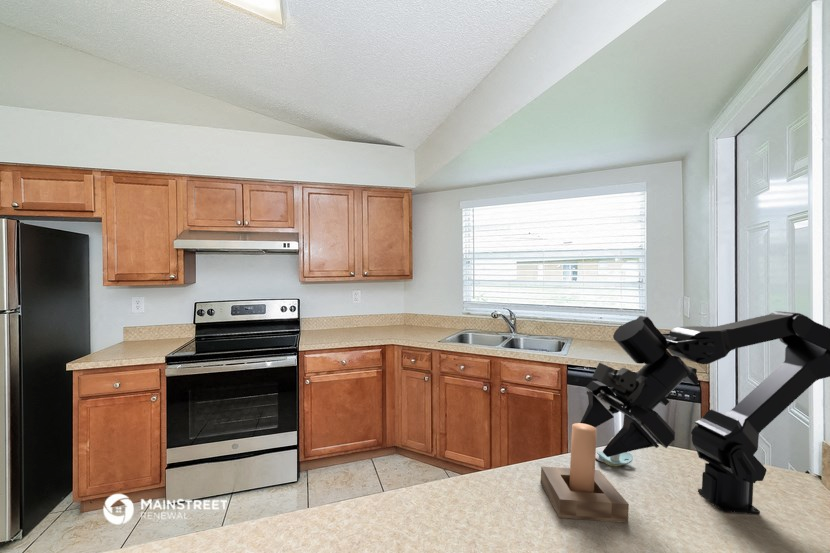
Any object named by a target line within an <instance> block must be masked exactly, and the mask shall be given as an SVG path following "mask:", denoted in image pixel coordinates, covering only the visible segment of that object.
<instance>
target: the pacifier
mask: <svg viewBox="0 0 830 553" xmlns="http://www.w3.org/2000/svg"><path fill="white" fill-rule="evenodd" d="M614 437H615V435H614V436H613V437H611V438H610V439H609V440H608V443H609V442H610V441H611V440H612V439H613V438H614ZM633 458H634V455H633V454H632V453H630V452H625V453H621V454H618V455H614V456H610V457H607V456H606V455H605V454H604V453H603V451H596V456H595V460H597V461H599V462H601V463H604V464H606V465H608V466H611V467H621V466H624V465H628V464H631V463H632V462H633V460H634V459H633Z"/></svg>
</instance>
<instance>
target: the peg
mask: <svg viewBox="0 0 830 553" xmlns="http://www.w3.org/2000/svg"><path fill="white" fill-rule="evenodd" d="M597 432H598V430H597V427H593V426H591V425H588V424H583V423H580V422H577V423H573V424H572V426H571V442H570V463H569V464H570V466H569V468H570V482H569V489H570V491H573V492H587V493H594V478H595V470H596V459H595V456H596V454H597V451H596V450H597Z"/></svg>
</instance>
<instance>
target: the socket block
mask: <svg viewBox="0 0 830 553" xmlns="http://www.w3.org/2000/svg"><path fill="white" fill-rule="evenodd" d="M569 482H570V467H557V466H556V467H553V466H540V484H541V486H542V487H543V490H544V491H545V493H546V495H547V497H548V498H549V501H550V503H551V505H552V507H553V508H554V510H555V512H556V514H557V516H558V518H561V519H574V520H575V519H576V520H586V521H587V520H589V521H603V522H616V523H629V507H630V504H629V502H628V501H627V500H626V499H625V498H624V497H623V496H622V494H620V492H619V491H618V490H617V488H615V486H614V485H613V484H612V483H611V482H610V481H609V479H608V478H607V477H606V475H604V474H603V472H602V471H601V470H600V469H595V478H594V493H587V492H573V491H570V489H569Z"/></svg>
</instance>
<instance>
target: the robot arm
mask: <svg viewBox="0 0 830 553" xmlns="http://www.w3.org/2000/svg"><path fill="white" fill-rule="evenodd" d="M612 336H613V337H612V338H613V339H614V342H616V343H617V344H618V345H619V346H620V347H621V349H622V350H623V351H624V352H625V353H626V354H627V355H628V356H629V358H630V359H631V360H632V361H634V363H636V364H639V365H640V364H641V365H642V364H645V365H643V366H642V367H641V368H640V369H639V370H638V371H637V372H635V371H632V370H631V369H628V368H626V367H621V368H620V369H619V370H617V369H615V368H614V367H612V366H611V367H610V366H609V365H606V364H604V363H602V362H598V364H597V366H596V369H595V370H594V372H593V374H592V376H591V378H592V379H594V380H591V381H590V382H589V383H588V384H587V385H586V386H585V389H586V390H587V391H586V395H587V399H588V405H587V408H586V410H585V412H584V414H583V416H582V418H581V421H580V422H579V423H583V424H588V425H591V426H593V427H595V428H597V427H599V426H600V425H602V424H604V423H606V422H608V421H609V420H612V419H614V418H615V417H614V415H613V414H618V413H619V412H620V413H622V414H623V426H622V427H621V428H620V430H619V431H618V432H617V433H616V434H615V435H614V436H615V437H614V436H613V437H614V438H613V439H612V440H611V441H610V442H609V441H608V443H607V445H606V446H605V447H604V449H603V451H602V452H603V453H604V454H605V455H606V456H607V457H610V456H614V455H618V454H621V453H625V452H628V453H630V452H633V451H637V450H642V449H648V448H656V449H657V448H659V447H660V446H662V447H663V448H665V449H667V448H669V446H671V444H672V443H673V442H674V441H675V437H676V435H675V434H676V432H675V430H673V428H672V427H671V426H670V425H669V424H668V422H666V421H665V420H664V419H663V417H662V416H661V414H659V413H658V412H657V411H655V410H654V409H655V408H656V407H657V406H659V405H661V404H662V405H663V406H665V407H666V406H667V405H668V404H669V403H670V401H669V399H668V398H667V397H668V395H670V393H672V392H673V391H674V390H675V389H676V388H677V387H678V386H679V385H680V384H681V383H682V382H683V381H685V382H687V383H690V384H692V385H698V384H699V377H698V374H697V371H698V370H697V368H695V367H692V366H689V365H687V364H686V362H684V360H686V361H690V362H693V363H697V364H699V365H700V364H701V365H710V364H712V363H714V362H717V361H719V360H721V359H723V358H725V357H727V356H728V354H730V352H731V351H734V350H736V349H739V348H745V347H749V346H754V345H758V344H762V343H765V342H766V343H767V342H770V341H775V340H779V342H781V343H782V344H784V345H786V346H785V351H784V361H783V362H782V363H781V364H780V365H779V366H778V367H776V369H775V370H773V372H771V373H770V374H769V375H768V376H767V377H765V379H763V381H761V382H760V383H759V384H758V385H757V386H756V387H755V388H753V390H752V391H750V392H749V393H748V394H747V395H746V396H745V397H744V398H743V399H742V400H740V402H738V403H737V404H736V405H735V406H734V407H733V408H731V409H730V410H729V411H726V412H723V413H722V412H719V411H718V410H716V409H713V408H711V409H709V410H708V411H706V413H704V415H703V416H702V417H701V418H700V419H699V420H696V421H694V424H695V426H694V427H693V428H692V430H691V432H690V433H691V442H692V445H693V447H694V449H695V450H696V453H697V456H698V458H700V459H702V460H704V461H705V463H704V472H702V475H701V476H702V480H701V488H697V493H698V494H700V495H701V496H702V497H703V498H705V499H706V500H707V501H708V502H709V503H711V504H712V505H713V506H715V507H716V508H717V509H718V510H719V511H721V512H724V513H736V514H737V513H738V514H751V515H752V514H753V515H760V514H761V511H760V509H758V508H757V507H756V506H754V505H753V500H754V484H756V482H762V481H764V479H765V476H766V473H767V471H768V470H767V468H766V467H765V466H764V465H763V464H762V463H761V462H760V460H759V459H757V457H756V456H755V454H756V453H757V451H758V450H759V438H760V437H759V436H760V433H761V432H762V431H763V430H765V428H767V426H769V424H771V423H772V422H773V421H774V420H775V419H776V418H777V417H779V416H780V415H781V414H782V412H784V411H785V410H786V409H787V408H788V407H789V406H790V405H791V404H793V403H794V402H795V401H796V400H797V399H798V398H799V397H800V396H801V395H803V394H804V393H805V391H807V390H808V389H809V388H810V387H811V386H812V385H813V384H814V383H815V382H817V381H819V380H823V379H827V378H830V327H827V326H825V325H822V324H821V323H818V322H816V321H814V320H812V318H810V317H808V316H807V315H804V314H803V313H799V312H790V311H789V312H787V311H778V310H777V311H774V312H771V313H769V314H766V315H761V316H756V317H752V318H748V319H742V320H739V321H735V322H730V323H725V324H721V325H717V326H715V325H714V326H702V325H701V326H696V325H694V326H693V325H690V326H689V325H688V326H677V327H674V328H672V329H670V331H669V332H667V333H666V332H665V333H662V332H661V331H660V330H659V329H658V328H657V327H656V325H655V324H654V322H653V321H652V320H651V319H650V317H649V316H644V315H639V316H638V317H637V318H636V319H633V320H630V321H628V322H625V323H624V324H621V325H620V326H619V327H617V328H616V330H615V331H614V333H613V335H612Z"/></svg>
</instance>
